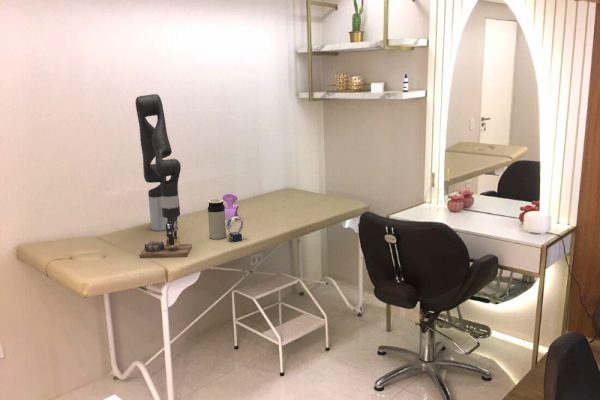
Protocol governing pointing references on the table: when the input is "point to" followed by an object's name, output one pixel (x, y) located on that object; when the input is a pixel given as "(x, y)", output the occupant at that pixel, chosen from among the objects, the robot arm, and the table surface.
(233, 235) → the watch
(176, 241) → the brass gear
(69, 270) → the table surface
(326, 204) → the table surface
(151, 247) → the gear board
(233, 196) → the toy chair
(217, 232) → the travel mug
